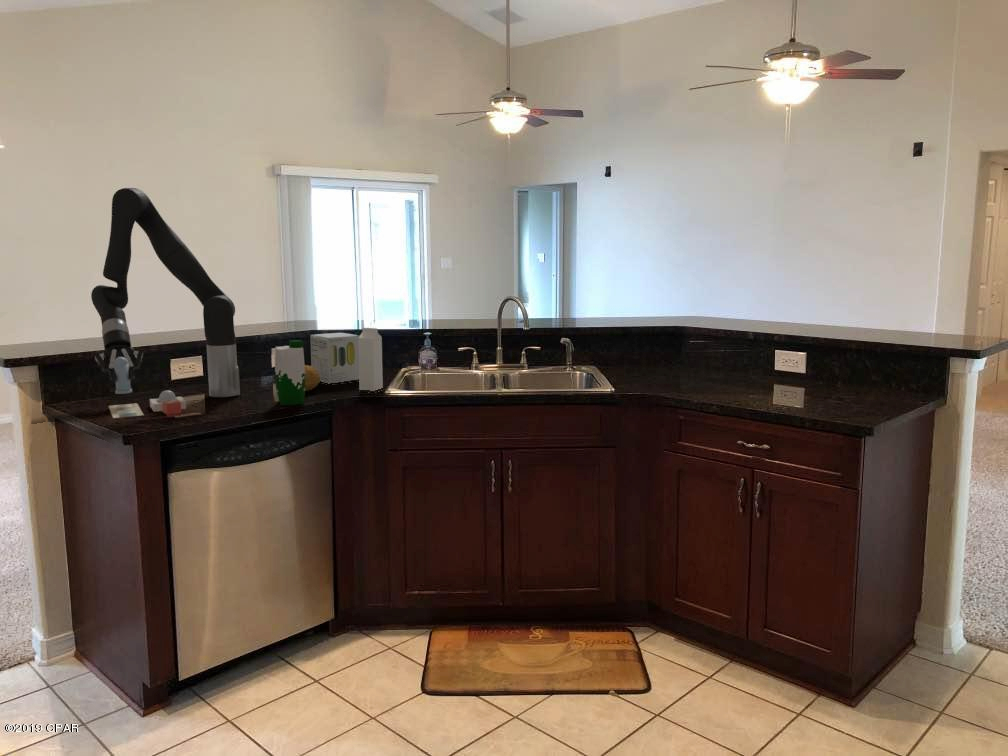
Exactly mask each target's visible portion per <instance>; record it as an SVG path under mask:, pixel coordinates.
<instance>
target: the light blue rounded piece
mask: <svg viewBox="0 0 1008 756" xmlns="http://www.w3.org/2000/svg"><path fill="white" fill-rule="evenodd" d="M176 397H177V396H176V394H175V392H174V391H171V390H169V389H168V390H167V389H166V390H163V391H162V392H160V394H159V397H158V398H157V399H159V403H162V402H163V401H172V400H177V399H176Z"/></svg>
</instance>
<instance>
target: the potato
mask: <svg viewBox="0 0 1008 756" xmlns="http://www.w3.org/2000/svg"><path fill="white" fill-rule="evenodd" d="M319 383H320V376H319V373H318V371H317V370H316V369H315V368H314V367H312V366H311V365H308V364H305V391H307V392H309V390H310V391H311V390H313V389H315V388H316V387H318V385H319Z"/></svg>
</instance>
